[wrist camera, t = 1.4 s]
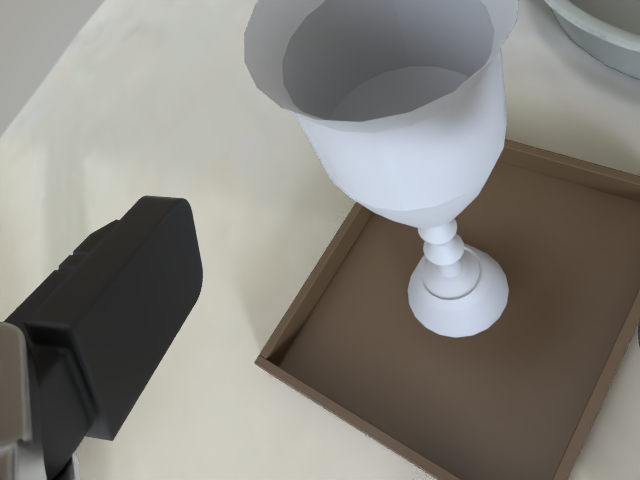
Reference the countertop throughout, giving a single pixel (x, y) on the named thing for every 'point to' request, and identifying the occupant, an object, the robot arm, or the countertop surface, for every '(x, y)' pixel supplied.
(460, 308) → the chalice
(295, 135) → the countertop surface
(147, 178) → the countertop surface
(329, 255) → the tray
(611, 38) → the cake pan
